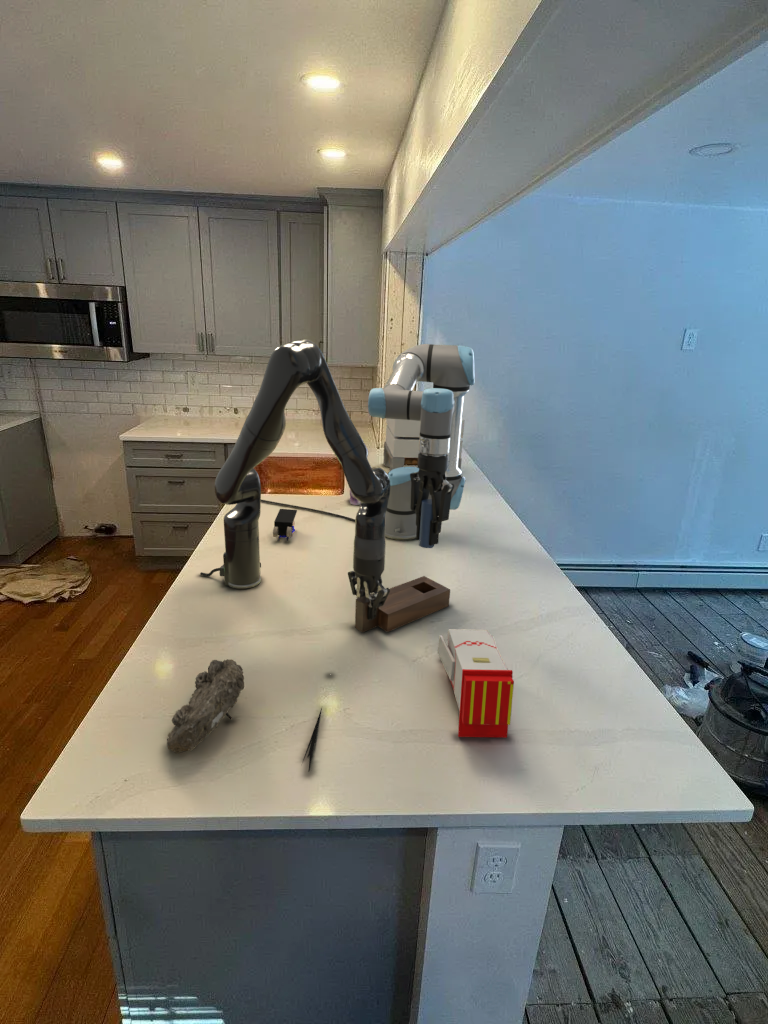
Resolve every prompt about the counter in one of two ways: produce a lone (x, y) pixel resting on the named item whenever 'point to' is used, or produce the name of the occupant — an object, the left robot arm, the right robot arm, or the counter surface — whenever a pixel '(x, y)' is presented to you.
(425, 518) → the peg
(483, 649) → the toy
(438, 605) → the peg block
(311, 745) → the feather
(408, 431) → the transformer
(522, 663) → the counter surface
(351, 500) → the figurine
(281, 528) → the figurine character
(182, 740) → the fossil
